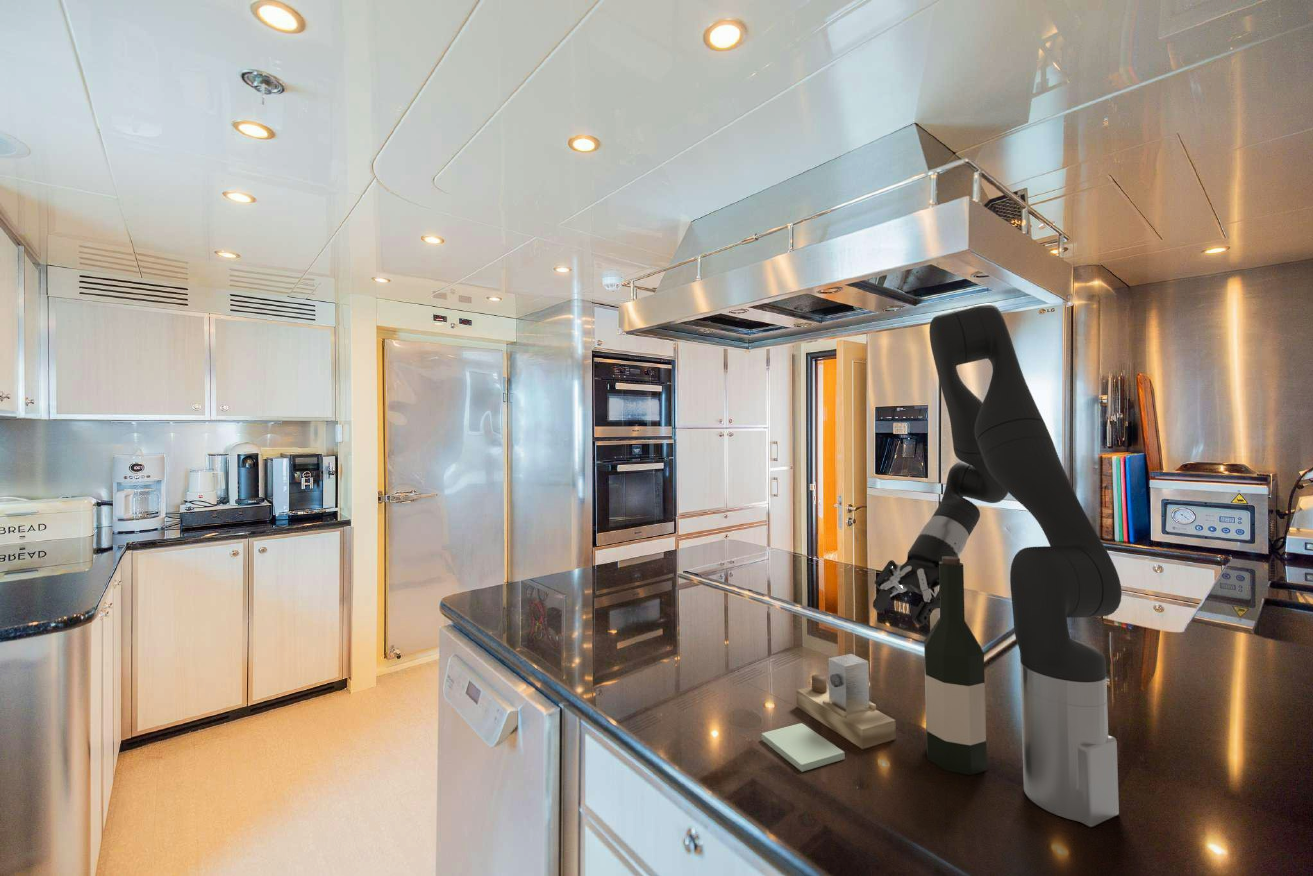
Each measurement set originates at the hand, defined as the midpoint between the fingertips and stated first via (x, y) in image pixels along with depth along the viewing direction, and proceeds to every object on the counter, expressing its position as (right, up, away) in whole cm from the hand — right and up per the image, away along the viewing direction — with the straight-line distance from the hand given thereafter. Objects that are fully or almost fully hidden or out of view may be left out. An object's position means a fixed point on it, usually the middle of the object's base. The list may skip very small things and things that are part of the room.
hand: (895, 616), depth 99 cm
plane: (-11, -17, -4) cm, 20 cm away
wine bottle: (+2, -17, -15) cm, 23 cm away
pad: (-20, -17, -12) cm, 29 cm away
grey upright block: (-10, -14, -5) cm, 18 cm away
